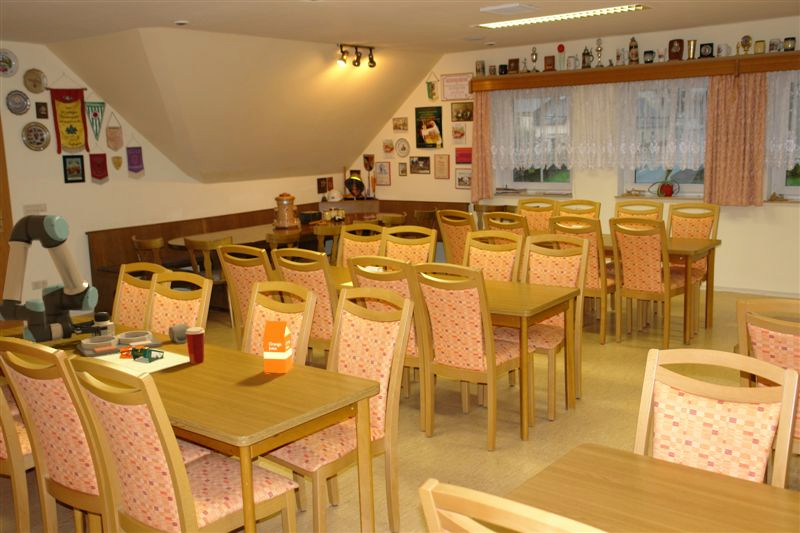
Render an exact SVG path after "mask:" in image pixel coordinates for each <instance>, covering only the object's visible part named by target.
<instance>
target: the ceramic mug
mask: <svg viewBox="0 0 800 533" xmlns="http://www.w3.org/2000/svg"><path fill="white" fill-rule="evenodd" d="M189 328H190V327H189V325H188V324H187V322H185V323H181V324H176V325H172V326H169V328H168V336H169V339H170V341H171V342H176V343H177V344H186V343H187V336H186V333H185V332H186V330H187V329H189Z"/></svg>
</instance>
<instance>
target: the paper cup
mask: <svg viewBox="0 0 800 533" xmlns="http://www.w3.org/2000/svg"><path fill="white" fill-rule="evenodd" d="M185 333H186V336H187V342H186V343H187V351H188V358H189V363H190V364H193V365H199V364H202V363H204V362H205V333H206V332H205V329H204V328H203V327H201V326H198V327H197V326H196V327H195V326H194V327H189V329H187V330H186V332H185Z"/></svg>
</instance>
